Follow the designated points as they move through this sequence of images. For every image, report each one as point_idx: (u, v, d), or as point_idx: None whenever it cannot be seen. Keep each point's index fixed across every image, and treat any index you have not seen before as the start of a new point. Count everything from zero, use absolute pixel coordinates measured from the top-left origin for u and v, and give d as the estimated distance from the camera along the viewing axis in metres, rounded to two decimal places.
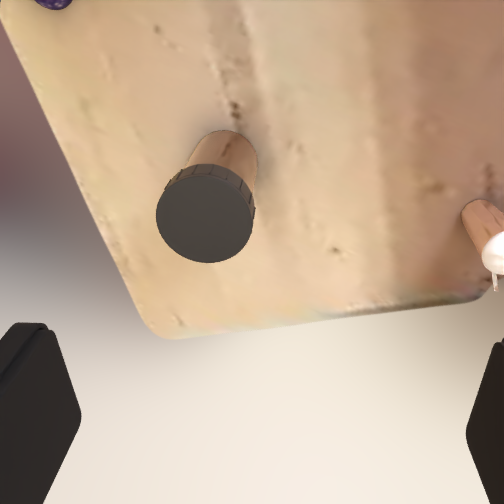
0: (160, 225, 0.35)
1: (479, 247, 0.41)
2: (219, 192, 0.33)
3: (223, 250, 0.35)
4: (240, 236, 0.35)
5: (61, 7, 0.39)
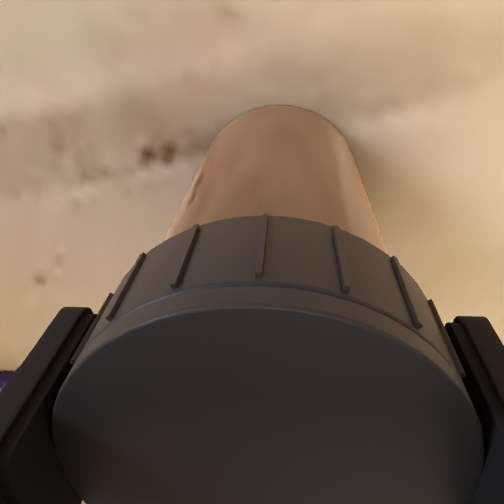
0: None
1: None
2: (109, 415, 0.07)
3: (419, 428, 0.07)
4: (342, 360, 0.06)
5: None
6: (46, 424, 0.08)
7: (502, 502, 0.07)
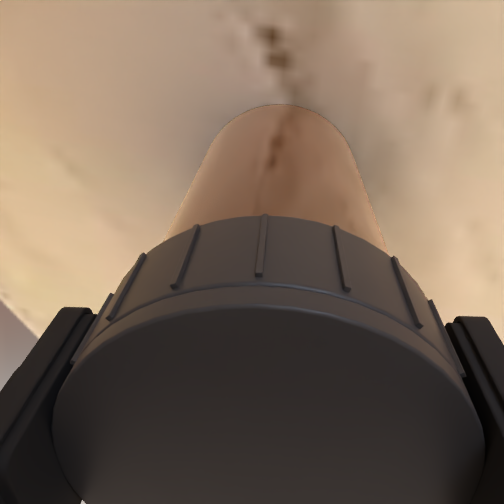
0: None
1: None
2: (109, 416, 0.07)
3: (420, 428, 0.07)
4: (343, 360, 0.06)
5: None
6: (45, 424, 0.08)
7: (503, 502, 0.07)
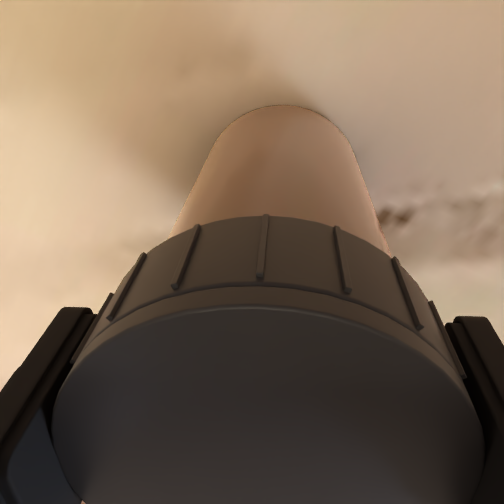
0: None
1: None
2: (109, 416, 0.07)
3: (419, 430, 0.07)
4: (343, 361, 0.06)
5: None
6: (46, 424, 0.08)
7: (502, 502, 0.07)
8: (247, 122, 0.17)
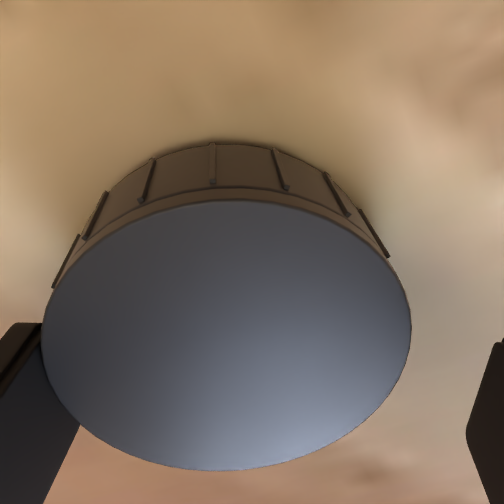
0: (256, 463, 0.11)
1: None
2: (94, 325, 0.08)
3: (357, 301, 0.08)
4: (289, 244, 0.08)
5: None
6: None
7: None
8: None
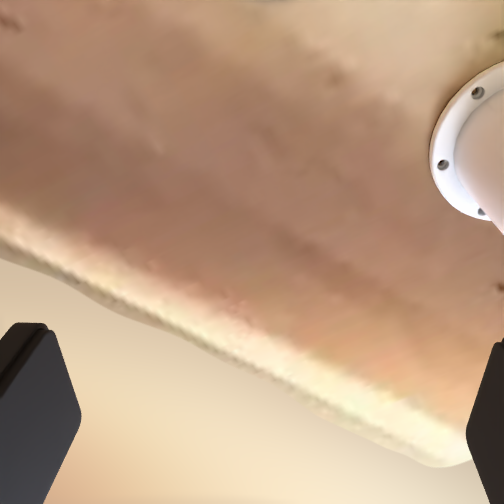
0: None
1: None
2: None
3: None
4: None
5: None
6: None
7: None
8: None
